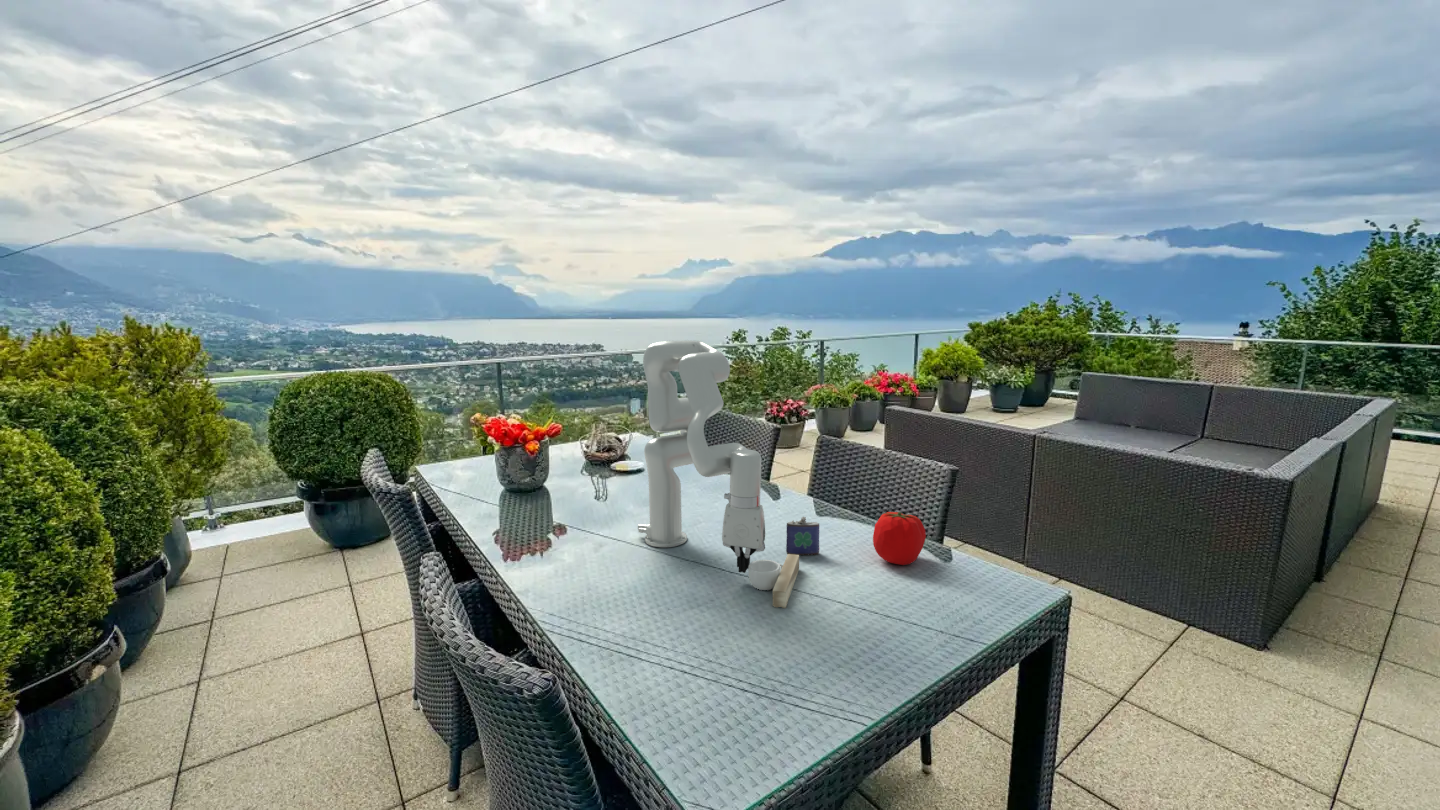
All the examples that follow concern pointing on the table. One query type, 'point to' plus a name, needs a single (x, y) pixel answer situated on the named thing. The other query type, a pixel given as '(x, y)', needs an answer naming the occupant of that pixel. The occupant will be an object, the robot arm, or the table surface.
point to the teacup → (764, 574)
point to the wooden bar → (785, 581)
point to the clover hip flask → (802, 537)
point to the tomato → (898, 537)
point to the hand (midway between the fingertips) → (743, 570)
